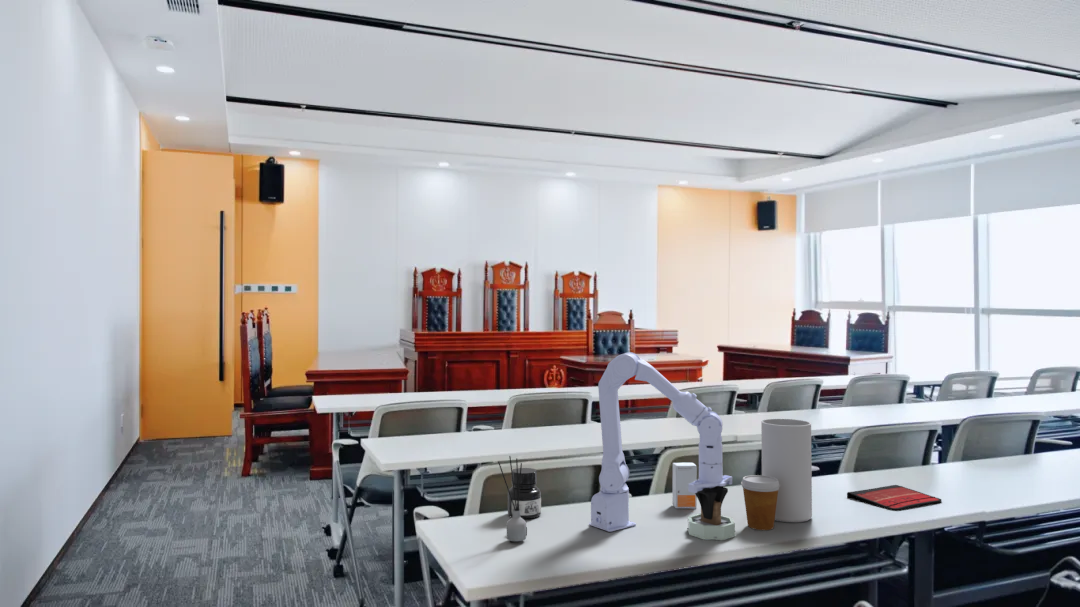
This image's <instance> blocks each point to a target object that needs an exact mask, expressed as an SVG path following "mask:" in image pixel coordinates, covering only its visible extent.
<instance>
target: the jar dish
mask: <svg viewBox="0 0 1080 607" xmlns="http://www.w3.org/2000/svg"><path fill="white" fill-rule="evenodd" d="M686 530H687V532H688V535H689V536H692V537H695V538H698V539H701V540H704V541H705V540H706V541H707V540H708V541H709V540H710V541H725V540H729V539H732V538H735V537H736V523H735V521H734V519H733V517H730V516H726V515H722V514H721V524H720V525H717V526H715V525H713V524H710V523H706V522H703V521H701V512H700V513H695V514H693V515H692V514H691V515H688V516H687V528H686Z"/></svg>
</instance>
